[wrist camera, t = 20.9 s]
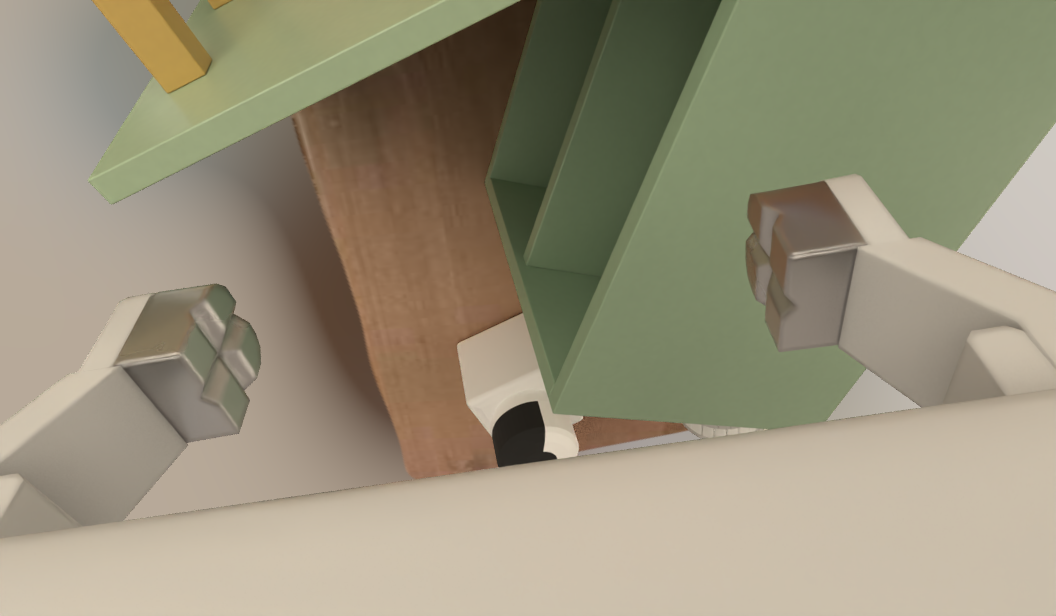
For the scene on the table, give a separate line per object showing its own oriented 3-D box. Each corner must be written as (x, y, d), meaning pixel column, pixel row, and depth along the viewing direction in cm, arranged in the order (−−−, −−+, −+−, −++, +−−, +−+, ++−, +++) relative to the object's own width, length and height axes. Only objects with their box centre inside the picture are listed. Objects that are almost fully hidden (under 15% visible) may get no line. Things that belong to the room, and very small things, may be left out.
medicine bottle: (491, 393, 61) (515, 506, 52) (454, 342, 57) (473, 456, 48) (564, 360, 60) (602, 469, 51) (533, 305, 56) (567, 414, 47)
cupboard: (483, 182, 48) (552, 414, 31) (591, -189, 36) (798, -137, 19) (671, 217, 53) (817, 433, 36) (822, -100, 41) (1147, 4, 24)
